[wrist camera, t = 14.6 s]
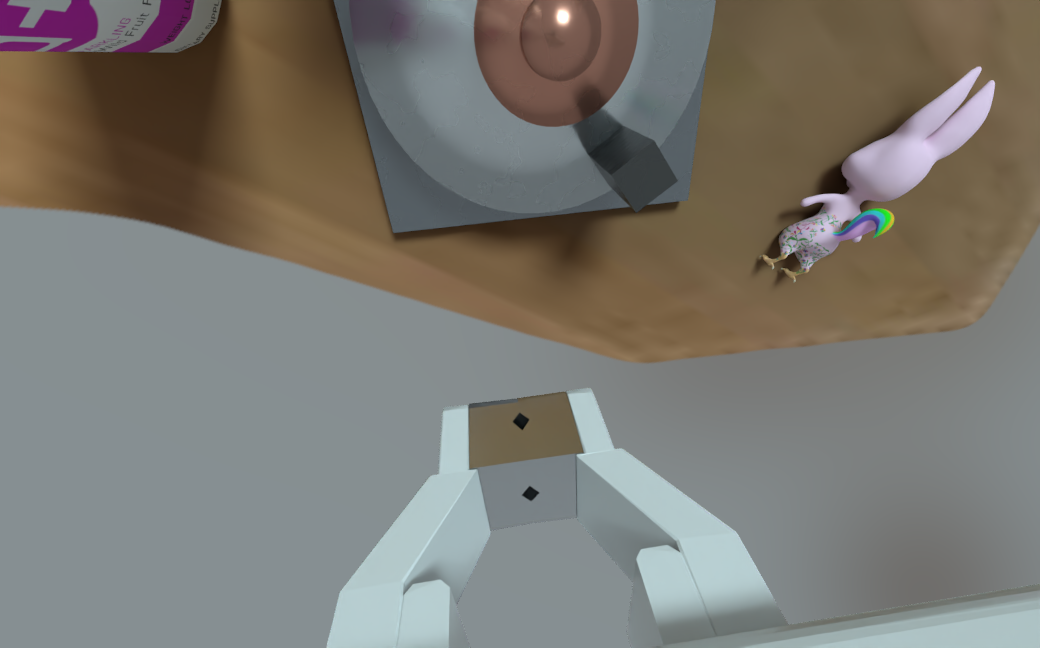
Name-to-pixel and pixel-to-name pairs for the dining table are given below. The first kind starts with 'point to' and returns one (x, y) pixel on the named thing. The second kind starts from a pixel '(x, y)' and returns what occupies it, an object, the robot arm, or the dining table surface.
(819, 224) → the rabbit figure
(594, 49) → the cover
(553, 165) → the turntable
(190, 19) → the supplement can
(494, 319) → the dining table surface
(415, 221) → the plinth
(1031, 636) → the robot arm
